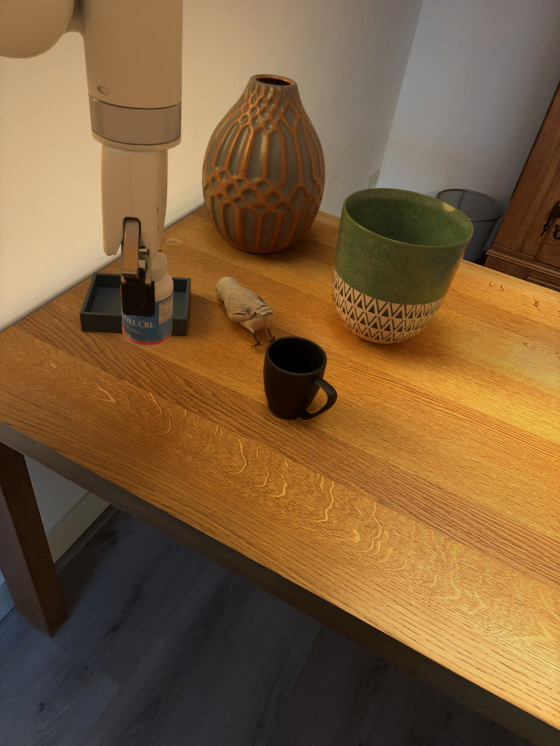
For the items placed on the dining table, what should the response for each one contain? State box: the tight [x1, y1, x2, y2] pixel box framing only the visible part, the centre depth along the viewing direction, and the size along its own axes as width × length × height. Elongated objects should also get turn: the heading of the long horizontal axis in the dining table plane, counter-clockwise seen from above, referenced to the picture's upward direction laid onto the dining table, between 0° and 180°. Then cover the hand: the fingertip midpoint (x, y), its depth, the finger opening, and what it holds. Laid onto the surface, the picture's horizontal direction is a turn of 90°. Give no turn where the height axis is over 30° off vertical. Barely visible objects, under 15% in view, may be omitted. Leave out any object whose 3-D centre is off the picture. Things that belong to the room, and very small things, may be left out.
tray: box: [79, 271, 192, 337], centre depth 89 cm, size 16×12×3 cm
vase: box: [201, 73, 326, 255], centre depth 105 cm, size 24×24×30 cm
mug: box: [262, 335, 338, 422], centre depth 73 cm, size 8×12×10 cm
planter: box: [331, 187, 475, 345], centre depth 87 cm, size 20×20×21 cm
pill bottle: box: [121, 249, 173, 348], centre depth 58 cm, size 6×5×10 cm
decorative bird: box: [215, 275, 277, 350], centre depth 89 cm, size 5×16×8 cm, turn 33°
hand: (142, 296), depth 58 cm, fingers closed on pill bottle, 5 cm apart
